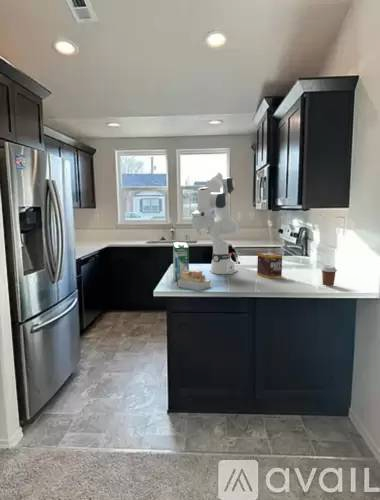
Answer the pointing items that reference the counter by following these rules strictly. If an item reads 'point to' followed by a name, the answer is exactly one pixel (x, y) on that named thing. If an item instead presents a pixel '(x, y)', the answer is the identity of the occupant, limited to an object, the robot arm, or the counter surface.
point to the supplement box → (269, 265)
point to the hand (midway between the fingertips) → (203, 234)
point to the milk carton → (180, 259)
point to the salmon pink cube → (197, 273)
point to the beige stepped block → (191, 277)
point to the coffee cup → (328, 275)
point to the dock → (194, 284)
